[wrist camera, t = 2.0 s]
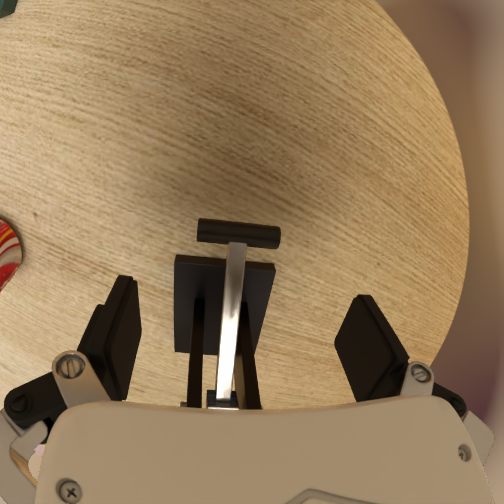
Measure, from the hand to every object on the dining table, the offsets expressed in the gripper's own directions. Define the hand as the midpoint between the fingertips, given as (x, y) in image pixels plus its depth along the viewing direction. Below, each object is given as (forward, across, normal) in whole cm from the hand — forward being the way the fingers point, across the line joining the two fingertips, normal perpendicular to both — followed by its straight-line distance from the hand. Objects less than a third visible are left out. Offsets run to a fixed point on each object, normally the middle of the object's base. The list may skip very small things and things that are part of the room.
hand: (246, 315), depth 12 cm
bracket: (+14, 0, +11) cm, 18 cm away
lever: (+5, 0, +6) cm, 8 cm away
